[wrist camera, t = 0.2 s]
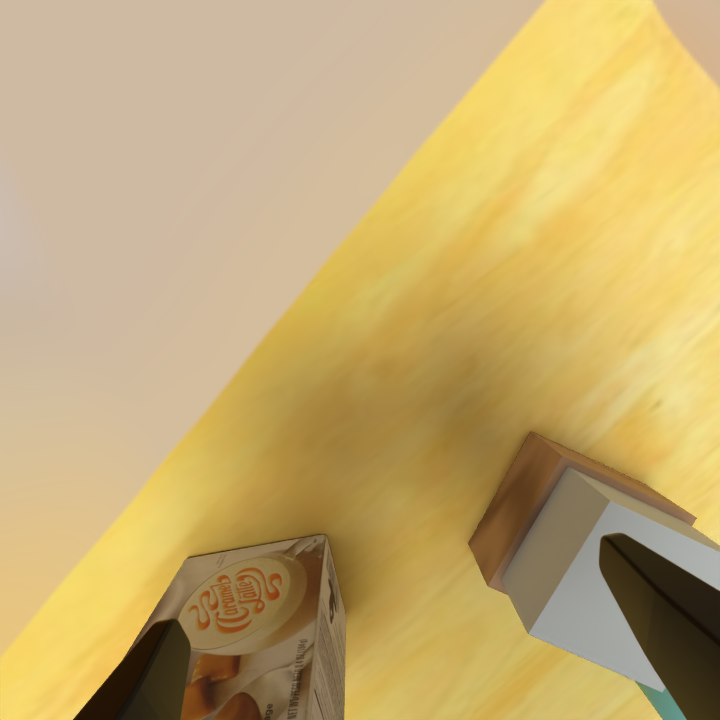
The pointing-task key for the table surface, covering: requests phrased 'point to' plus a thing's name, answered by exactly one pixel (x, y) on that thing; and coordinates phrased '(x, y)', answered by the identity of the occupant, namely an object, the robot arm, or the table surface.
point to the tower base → (542, 501)
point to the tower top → (595, 571)
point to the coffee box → (261, 632)
